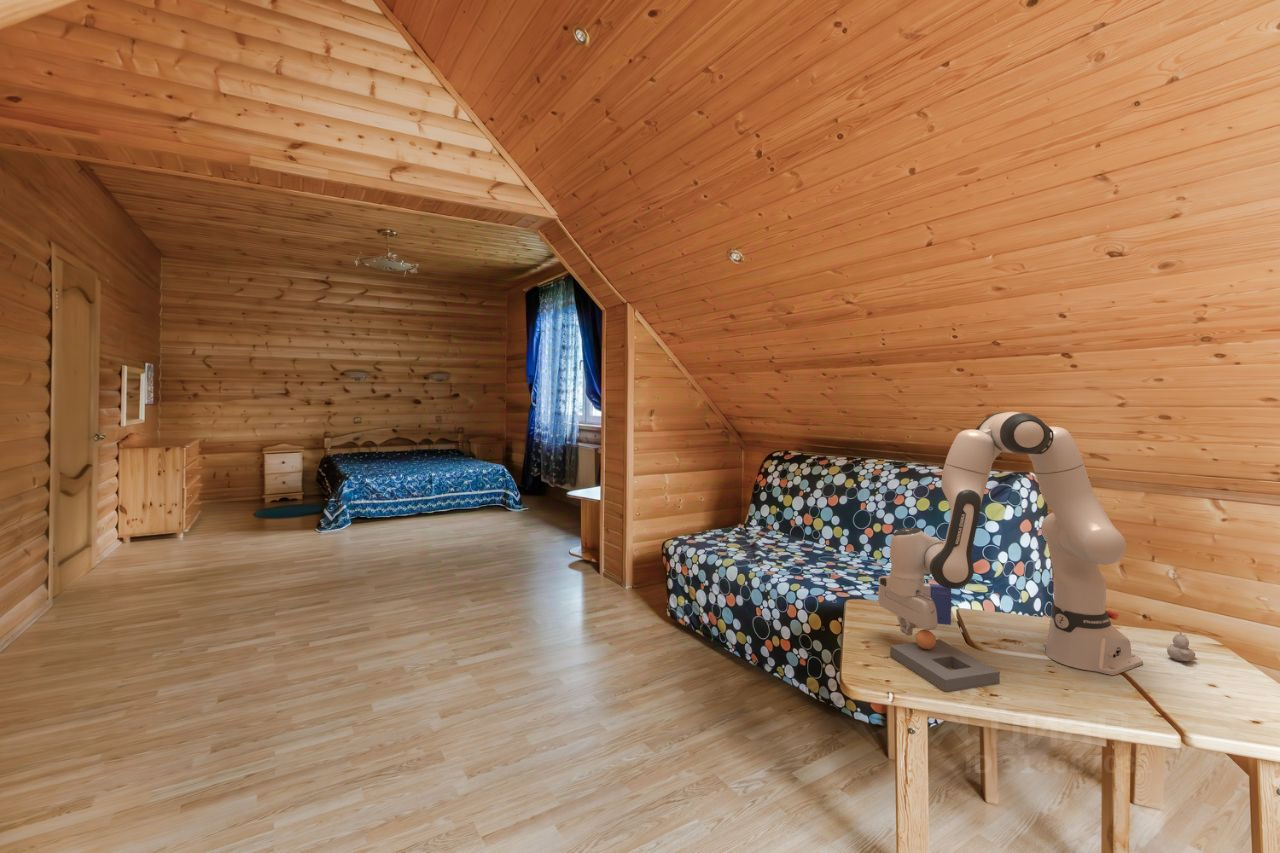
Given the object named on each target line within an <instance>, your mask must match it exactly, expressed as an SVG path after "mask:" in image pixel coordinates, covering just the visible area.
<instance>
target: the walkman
mask: <svg viewBox="0 0 1280 853" xmlns="http://www.w3.org/2000/svg"><path fill="white" fill-rule="evenodd" d="M924 594H927V595H929V596H930V597H931V599H932V600H933V601H934V604H935V607H936V612H937V625H938V624H939V625H949V626H950V625H952V623H951V622H952V589H949V588H945V587H943V586H941V585H939V584H938V583H937V584H935V583H925V582H924Z"/></svg>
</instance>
